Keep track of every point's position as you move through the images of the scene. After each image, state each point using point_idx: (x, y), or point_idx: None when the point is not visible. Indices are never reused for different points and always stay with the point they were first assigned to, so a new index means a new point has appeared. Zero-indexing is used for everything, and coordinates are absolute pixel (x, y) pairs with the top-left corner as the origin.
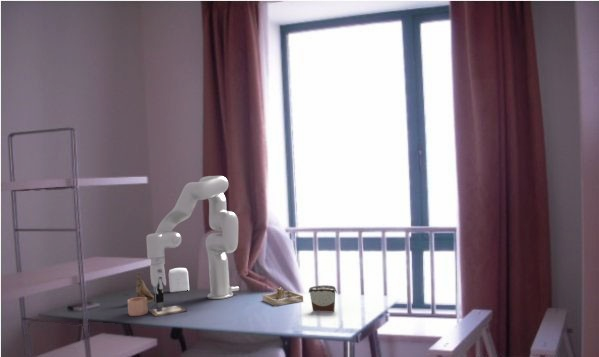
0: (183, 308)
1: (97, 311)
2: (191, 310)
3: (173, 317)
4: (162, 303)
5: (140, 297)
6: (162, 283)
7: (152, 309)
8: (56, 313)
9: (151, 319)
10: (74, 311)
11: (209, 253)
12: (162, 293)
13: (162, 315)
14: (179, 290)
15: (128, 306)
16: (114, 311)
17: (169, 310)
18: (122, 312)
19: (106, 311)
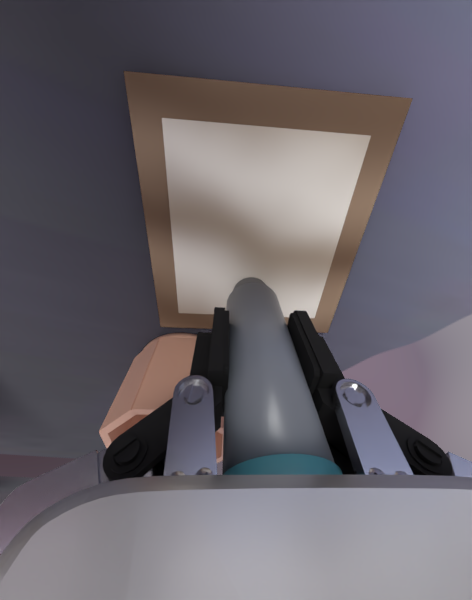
0: (319, 91)
1: (40, 447)
2: (413, 20)
3: (442, 257)
4: (274, 301)
5: (116, 427)
6: (305, 531)
7: (164, 308)
8: None
9: (353, 350)
10: (7, 480)
11: None
12: (332, 375)
13: (337, 294)
14: None
15: None
16: (71, 416)
17: (296, 236)
18: (111, 401)
19: (56, 432)
